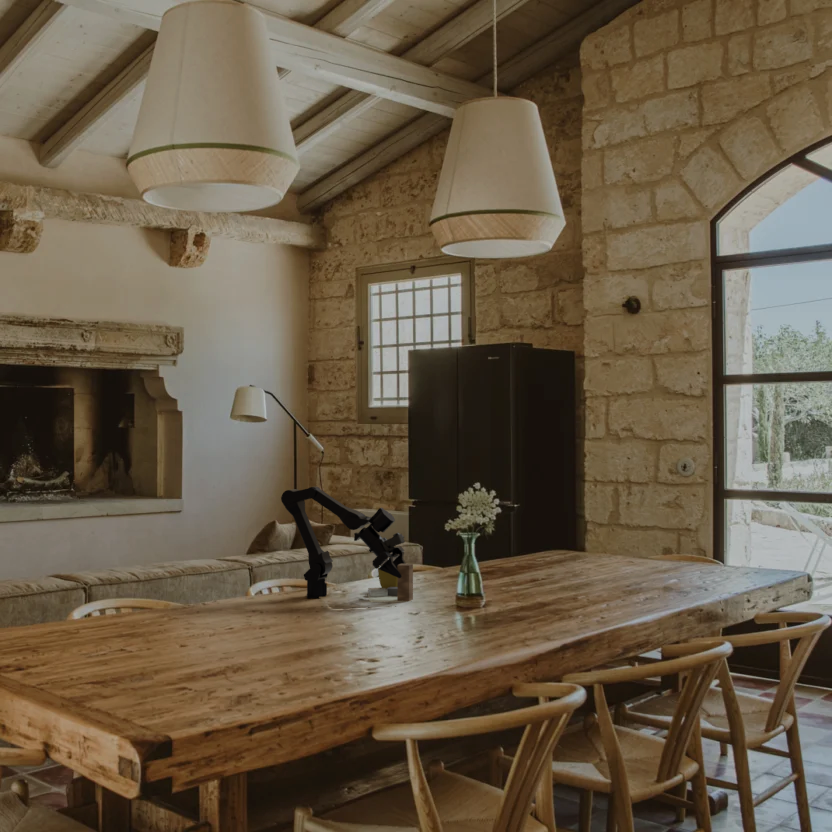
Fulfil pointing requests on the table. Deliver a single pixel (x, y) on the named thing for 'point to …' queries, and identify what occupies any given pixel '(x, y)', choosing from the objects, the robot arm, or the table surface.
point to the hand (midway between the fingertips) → (404, 575)
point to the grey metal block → (378, 592)
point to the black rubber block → (392, 591)
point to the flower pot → (387, 579)
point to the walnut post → (405, 582)
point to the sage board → (385, 599)
